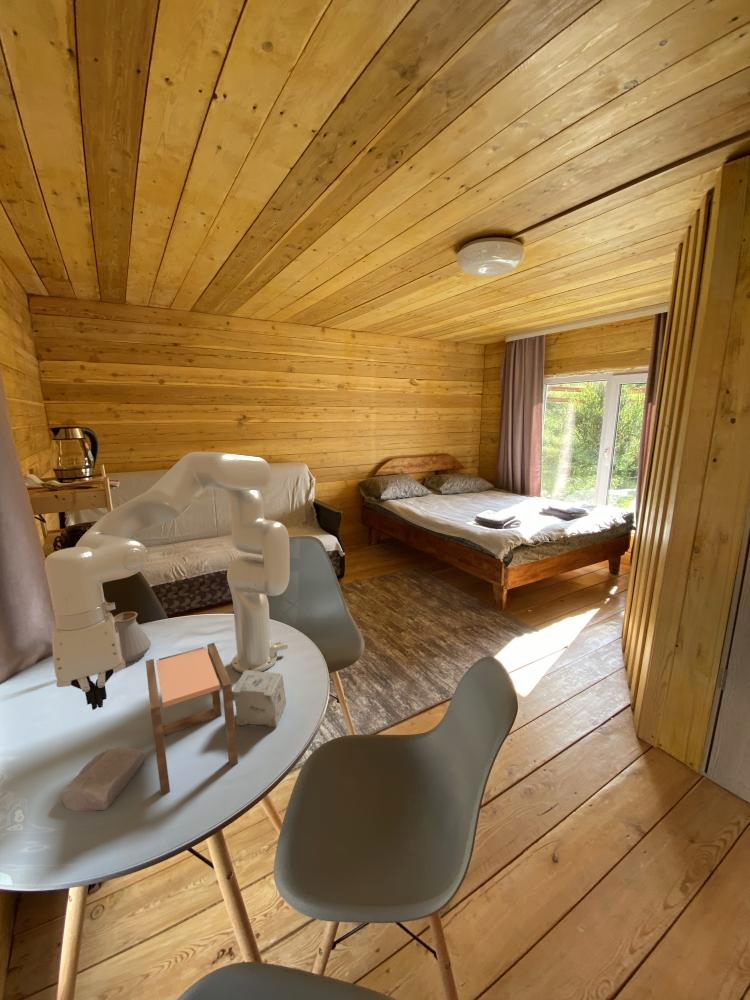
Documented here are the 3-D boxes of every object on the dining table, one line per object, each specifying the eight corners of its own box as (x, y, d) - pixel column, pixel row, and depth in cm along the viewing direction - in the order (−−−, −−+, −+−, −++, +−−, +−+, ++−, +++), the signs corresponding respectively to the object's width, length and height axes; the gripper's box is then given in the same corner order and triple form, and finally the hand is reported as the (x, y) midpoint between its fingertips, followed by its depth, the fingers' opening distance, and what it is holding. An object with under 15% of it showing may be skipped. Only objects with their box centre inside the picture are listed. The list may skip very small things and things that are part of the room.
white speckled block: (232, 729, 94) (229, 688, 92) (249, 704, 102) (246, 666, 100) (273, 733, 92) (271, 691, 90) (287, 708, 100) (285, 669, 98)
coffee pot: (147, 642, 132) (141, 598, 129) (155, 657, 123) (150, 610, 120) (64, 667, 118) (56, 619, 115) (67, 686, 109) (58, 634, 107)
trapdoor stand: (220, 711, 99) (214, 642, 96) (237, 763, 84) (231, 683, 81) (154, 734, 92) (145, 660, 89) (161, 795, 77) (150, 709, 74)
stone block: (59, 819, 75) (109, 812, 74) (50, 796, 74) (102, 788, 73) (105, 768, 86) (150, 761, 85) (99, 747, 86) (143, 740, 85)
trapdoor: (204, 652, 97) (203, 642, 96) (220, 696, 81) (219, 684, 81) (156, 665, 91) (155, 654, 91) (164, 714, 76) (162, 702, 76)
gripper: (129, 597, 82) (141, 680, 85) (32, 618, 74) (51, 707, 78) (129, 612, 75) (143, 701, 79) (24, 636, 68) (45, 733, 72)
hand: (97, 704), depth 79 cm, fingers closed
